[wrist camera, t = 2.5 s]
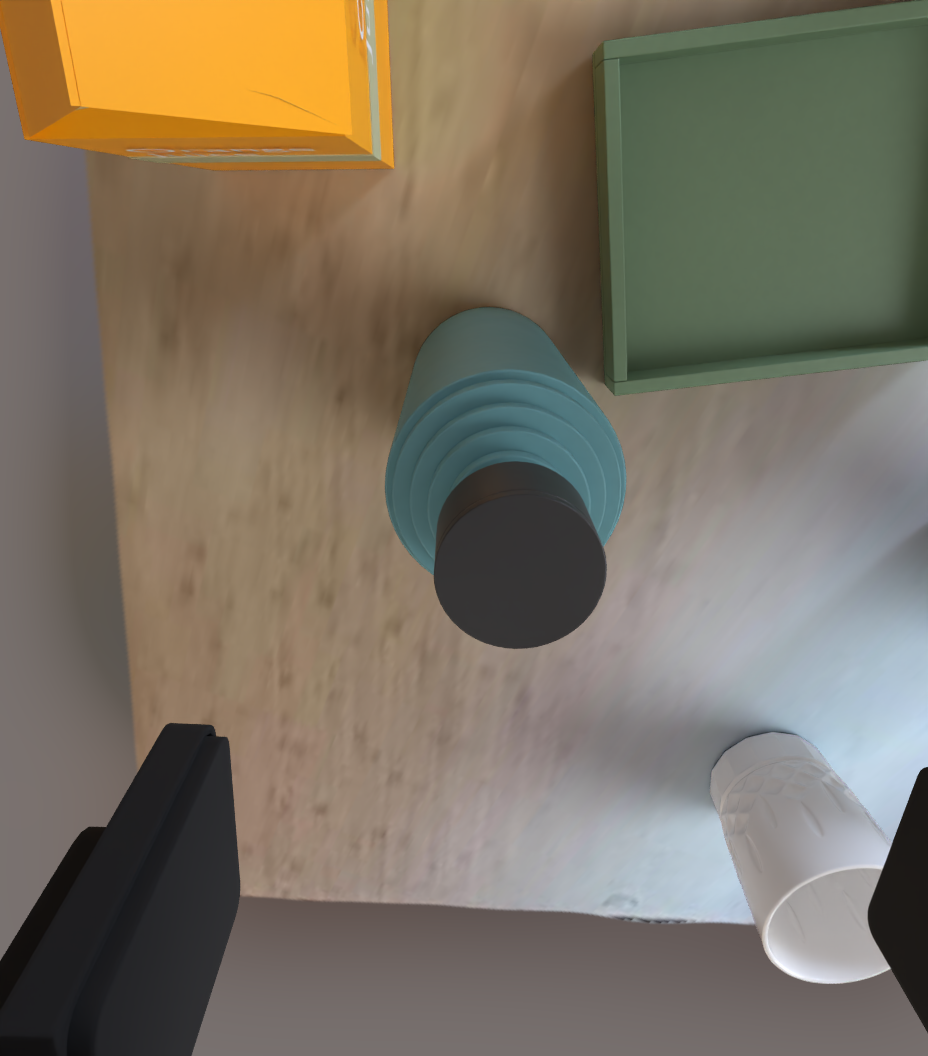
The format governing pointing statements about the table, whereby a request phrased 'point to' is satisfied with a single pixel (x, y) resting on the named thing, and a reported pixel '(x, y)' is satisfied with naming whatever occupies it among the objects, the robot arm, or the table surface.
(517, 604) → the cap
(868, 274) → the tray
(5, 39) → the orange juice
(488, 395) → the bottle
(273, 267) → the table surface
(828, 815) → the white cup
